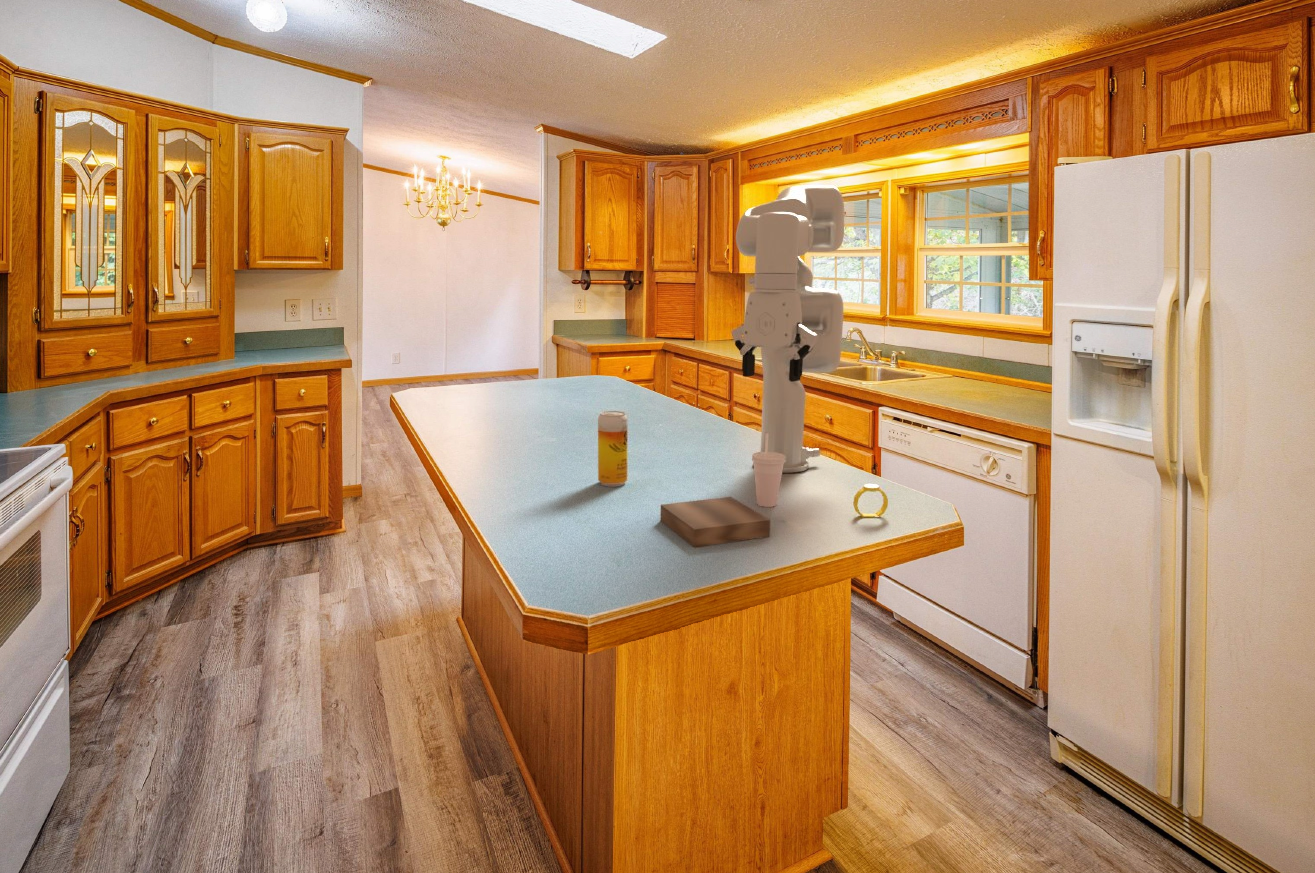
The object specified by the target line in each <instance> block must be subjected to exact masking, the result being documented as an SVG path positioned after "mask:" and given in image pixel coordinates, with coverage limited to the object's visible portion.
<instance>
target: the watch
mask: <svg viewBox="0 0 1315 873" xmlns="http://www.w3.org/2000/svg"><path fill="white" fill-rule="evenodd" d="M865 492H866V493H867V492H874V493H875V492H879V493H880V494H881V496H882V497H883V499H882V500H883V503H882V506H881V508H880V509H879V510H878V511H877V512H876V513H862V512H860V510H859V507H858V504H859V499H860V498H861V496H862V495H863V494H864V493H865ZM888 504H889V498H888V495H887V494H886V492H885V491H883V490H882V489H880V486H879V485H878V484H876V483H875V484H874V483H865V484H864V485H863V487H862V488H861V489H859V490H858V491H857V492H856V493H855V495H854V498H853V507H854V510H855V512H856V513H857V514H858V515H859V516H860V517H861V518H863V517H869V518H876V517H875V516H880V517H881V516H882V515H884V514H885V513H886V511H887V509H888V506H889V505H888Z"/></svg>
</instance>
